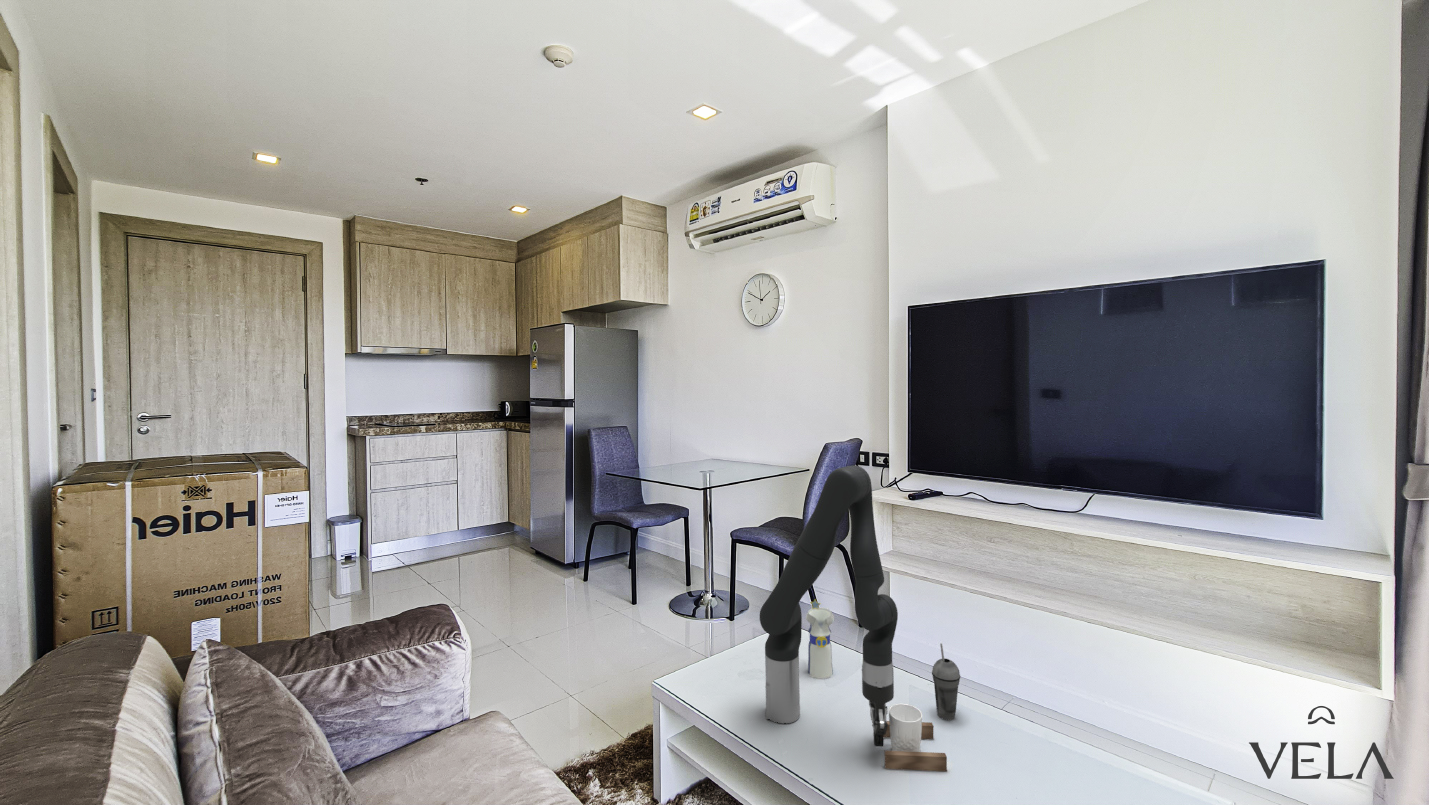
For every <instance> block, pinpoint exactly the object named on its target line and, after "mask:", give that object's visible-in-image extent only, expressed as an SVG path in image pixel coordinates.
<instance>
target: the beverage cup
mask: <svg viewBox="0 0 1429 805" xmlns="http://www.w3.org/2000/svg"><path fill="white" fill-rule="evenodd" d="M939 645H940V652H941V658H940V659H938V660H936V662H934V664H933V666H932V670H931V675H932V680H933V683H934V684H933V686H934V696H935V708H936V713H937V714H936V715H937V716H938V718H939V719H941V720H943V721H953V720H955V719H956V713H957V705H958V704H957V702H958V692H959V685H960V679H961V674H960V670H959V667H958V665H957V664H956V663H955V662H954V661H953V660H951V659H949V658H945V656H944V647H943V643H941V642H940V644H939Z"/></svg>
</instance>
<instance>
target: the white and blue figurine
mask: <svg viewBox="0 0 1429 805" xmlns="http://www.w3.org/2000/svg"><path fill="white" fill-rule="evenodd" d="M809 603H810V604H811V605H812V606H811V608H810V609H809V610H807V613H806V617H805V618H806V621H807V622H808V623H809V624H810V625H809V628H808V631H807V632H808V634H809V640H808V645H807V646H808V648H807V649H808V652H807V653H808V655H807V656H808V660H807V661H808V663H807V674H808V675H809V676H810V677H812V678H813V679H818V680H825V679H826V680H827V679H829V678H831V677H832V676H833V674H834V672H833V671H834V669H833V652H832V651H833V650H832V643H831V634H832V630H831V628H830V626H831V625H832V624H833V623H834V621H835V616H834V615H833V612H832V611H831V610H830V609H829V608H827V607H819V606H820V605H822V603H821V602H817V599H816V598H815V599H813V601H810V602H809Z"/></svg>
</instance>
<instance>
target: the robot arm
mask: <svg viewBox="0 0 1429 805" xmlns="http://www.w3.org/2000/svg"><path fill="white" fill-rule="evenodd" d="M873 505H874V504H873V488H872V481H871V477H870V474H869V472H868V471H867V470H866V469H865V468H863V467H861V466H859V465H854V464H853V465H847V466H843V467H839V468H836V469H834V470H832V472H830V474H829V475H828V476H827V478H826V479H825V482H824V484H823V488H822V490H821V492H820V495H819V497H818V501H817V504H816V506H815V508H814V510H813V512H812V513H811V515H810V518H809V519H808V520H807V523H806V524H805V526H804V528H803V530H802V532H801V534H800V536H799V537H798V539H797V541H796V543H795V545H794V548H793V549H792V551H791V553H790V555H789V558H788V560H787V562H786V564H785V566H784V567H783V570H782V573H781V575H780V578H779V579H778V581H777V583H776V584H775V587H774V589H773V590H772V592H771V593H770V595H769V596H768V597H767V599H766V600H765V602H764V603H763V604H762V606H761V608H760V611H759V622H760V626H761V628H762V630H763V631H764V632H765V633H767V634H768V637H767V638H766V641H765V643H764V655H765V656H764V658H765V661H764V662H765V663H764V664H765V719H766V720H767V719H771V720H770V721H772V720H773V721H772V722H774V721H775V722H774V723H777V722H778V723H777V724H784V723H786V724H790V723H794V722H796V721H797V720H799V718H800V716H801V704H800V700H801V699H800V698H801V697H800V696H801V694H800V689H801V688H800V651H799V650H800V646H801V642H802V629H803V628H802V623H803V618H802V617H803V615H802V608H801V605H800V601H801V600H802V598H803V597H804V595H805V594H807V592H808V591H809V589H810V588H811V587H812V585H814V583H815V582H816V581H817V579H818V578H819V577H820V576H821V574H822V573H823V571H824V569H825V568H826V566H827V564H828V563H829V560H830V558H831V556H832V554H833V552H834V549H835V546H836V545H835V544H836V541H837V540H836V539H837V532H838V528H839V527H840V526H839V525H840V524H841V522H842V520H843V518H844V516H845V515H846V514H847V512H849V517H850V542H849V543H850V544H849V550H850V551H849V552H850V553H849V554H850V561H851V566H852V571H853V576H854V579H855V580H854V581H855V587H854V589H855V590H854V612H855V616H856V619H857V621H858V623H859V624H860V626H861V627H862V628H863V629H865V631H866V630H867V631H868V632H867V633H866V634H865V635H864V637H863V639H862V664H861V685H862V686H861V689H862V690H861V692H862V696H863V698H865V699H866V700H868V706H869V710H870V711H869V716H870V720H871V723H872V724H871V726H872V729H873V733H872V734H873V743H874V744H873V745H874V746H875V747H884V739H885V737H883V735H886V731H887V726H888V723H887V721H888V720H887V715H888V714H889V709H888V706H887V703H890V702H891V701H892V700H893V699H894V697H895V690H894V689H895V688H894V687H895V686H894V683H895V682H894V681H895V680H894V676H895V675H894V663H893V641H894V638H895V634H896V630H897V625H898V614H899V612H898V607H897V604H896V602H895V601H894V600H893V598H892V597H891V596H889V595H888V594H884V593H882V594H879V590H880V588H881V587H882V586H883V585H884V583H885V575H884V570H883V566H882V562H881V557H880V552H879V547H878V542H877V535H876V527H875V519H874V518H875V517H874V506H873Z"/></svg>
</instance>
